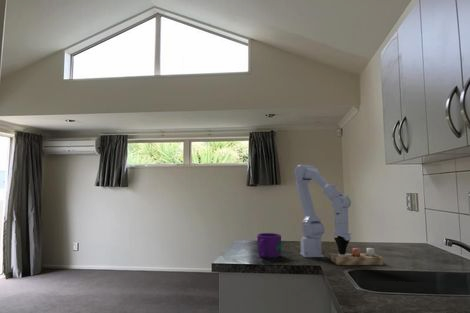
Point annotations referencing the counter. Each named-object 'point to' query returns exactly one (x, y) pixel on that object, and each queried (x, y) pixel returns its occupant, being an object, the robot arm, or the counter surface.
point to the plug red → (356, 252)
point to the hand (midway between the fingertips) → (342, 254)
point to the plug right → (370, 252)
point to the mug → (269, 245)
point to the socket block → (357, 260)
